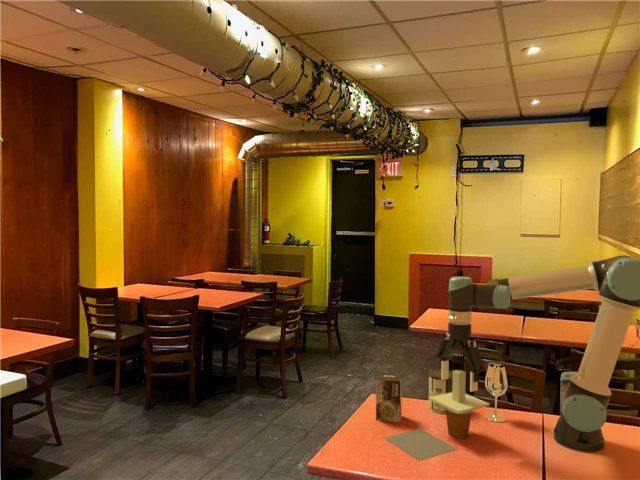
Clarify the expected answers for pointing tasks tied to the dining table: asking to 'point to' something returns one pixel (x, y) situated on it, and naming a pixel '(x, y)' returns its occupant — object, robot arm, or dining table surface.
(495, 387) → the wineglass
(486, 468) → the dining table surface
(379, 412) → the coffee box
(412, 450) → the rubber mat
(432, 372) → the coffee can
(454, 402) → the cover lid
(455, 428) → the disposable coffee cup
